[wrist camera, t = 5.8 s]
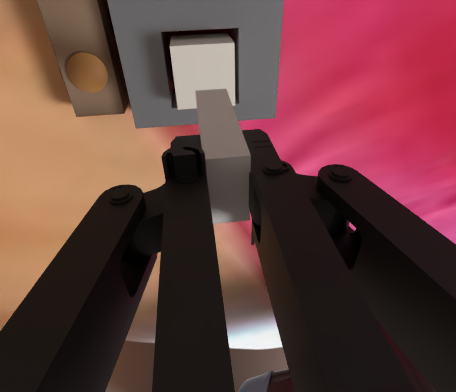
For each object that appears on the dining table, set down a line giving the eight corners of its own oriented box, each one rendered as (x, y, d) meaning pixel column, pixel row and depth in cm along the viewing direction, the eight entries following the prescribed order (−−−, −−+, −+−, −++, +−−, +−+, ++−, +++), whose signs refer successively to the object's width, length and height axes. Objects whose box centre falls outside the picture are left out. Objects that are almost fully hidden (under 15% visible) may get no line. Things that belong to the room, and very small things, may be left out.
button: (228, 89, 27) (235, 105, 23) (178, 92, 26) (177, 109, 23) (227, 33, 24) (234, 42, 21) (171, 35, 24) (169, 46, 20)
